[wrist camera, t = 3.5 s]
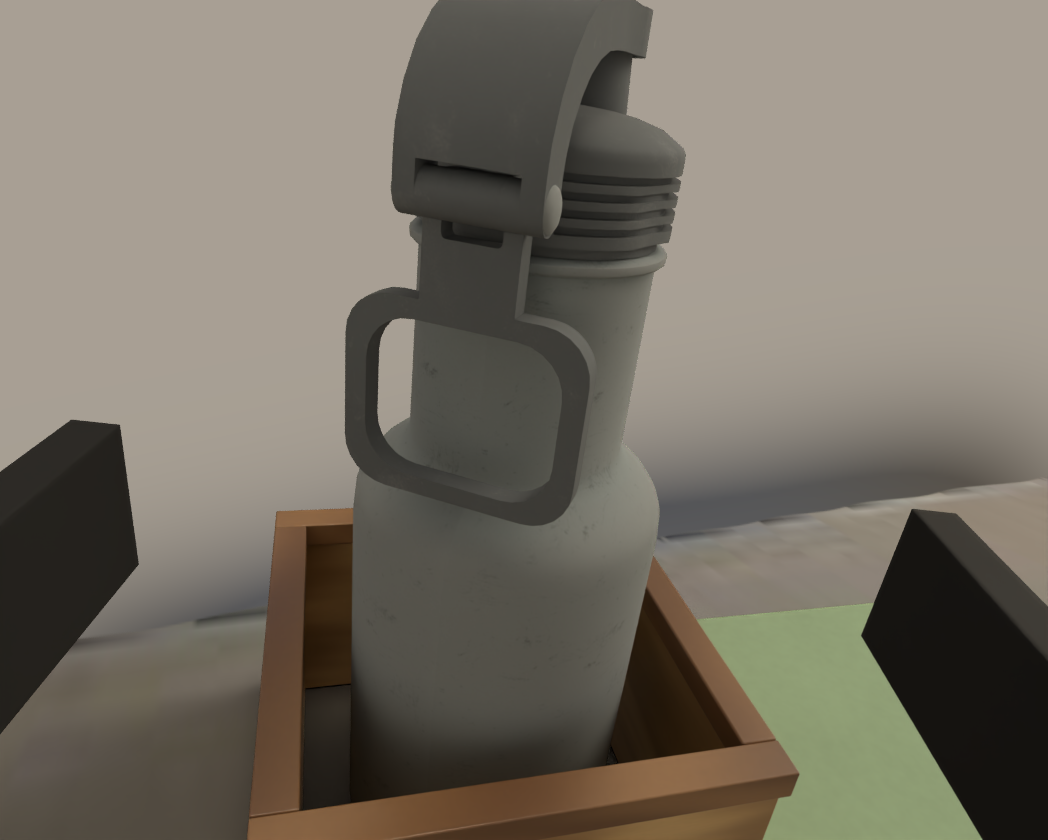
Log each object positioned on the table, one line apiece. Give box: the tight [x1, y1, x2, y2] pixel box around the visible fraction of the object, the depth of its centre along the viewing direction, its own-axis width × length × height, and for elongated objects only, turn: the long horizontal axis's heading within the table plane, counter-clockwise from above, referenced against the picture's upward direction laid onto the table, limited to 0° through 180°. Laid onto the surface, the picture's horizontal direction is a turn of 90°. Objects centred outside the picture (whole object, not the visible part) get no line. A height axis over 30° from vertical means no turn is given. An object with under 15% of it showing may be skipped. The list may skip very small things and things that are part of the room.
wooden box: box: [247, 508, 800, 840], centre depth 27 cm, size 15×15×9 cm
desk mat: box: [697, 603, 982, 840], centre depth 34 cm, size 18×16×1 cm
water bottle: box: [345, 0, 686, 803], centre depth 23 cm, size 10×10×28 cm
